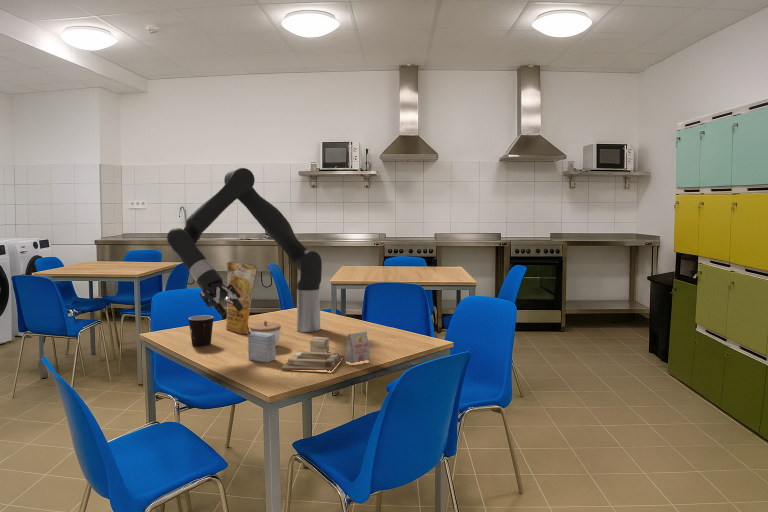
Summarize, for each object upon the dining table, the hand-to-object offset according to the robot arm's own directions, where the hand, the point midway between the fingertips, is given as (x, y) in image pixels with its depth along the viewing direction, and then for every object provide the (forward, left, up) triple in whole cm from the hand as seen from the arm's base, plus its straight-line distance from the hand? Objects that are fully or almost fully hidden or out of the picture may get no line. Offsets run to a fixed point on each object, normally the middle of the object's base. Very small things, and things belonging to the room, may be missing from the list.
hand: (232, 311), depth 165 cm
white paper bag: (-10, +42, -15) cm, 46 cm away
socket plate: (-3, +30, -15) cm, 33 cm away
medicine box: (0, +12, -15) cm, 19 cm away
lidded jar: (-14, +3, -15) cm, 21 cm away
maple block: (-15, +25, -15) cm, 33 cm away
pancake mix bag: (-30, -22, -15) cm, 40 cm away
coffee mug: (-5, -19, -15) cm, 25 cm away
